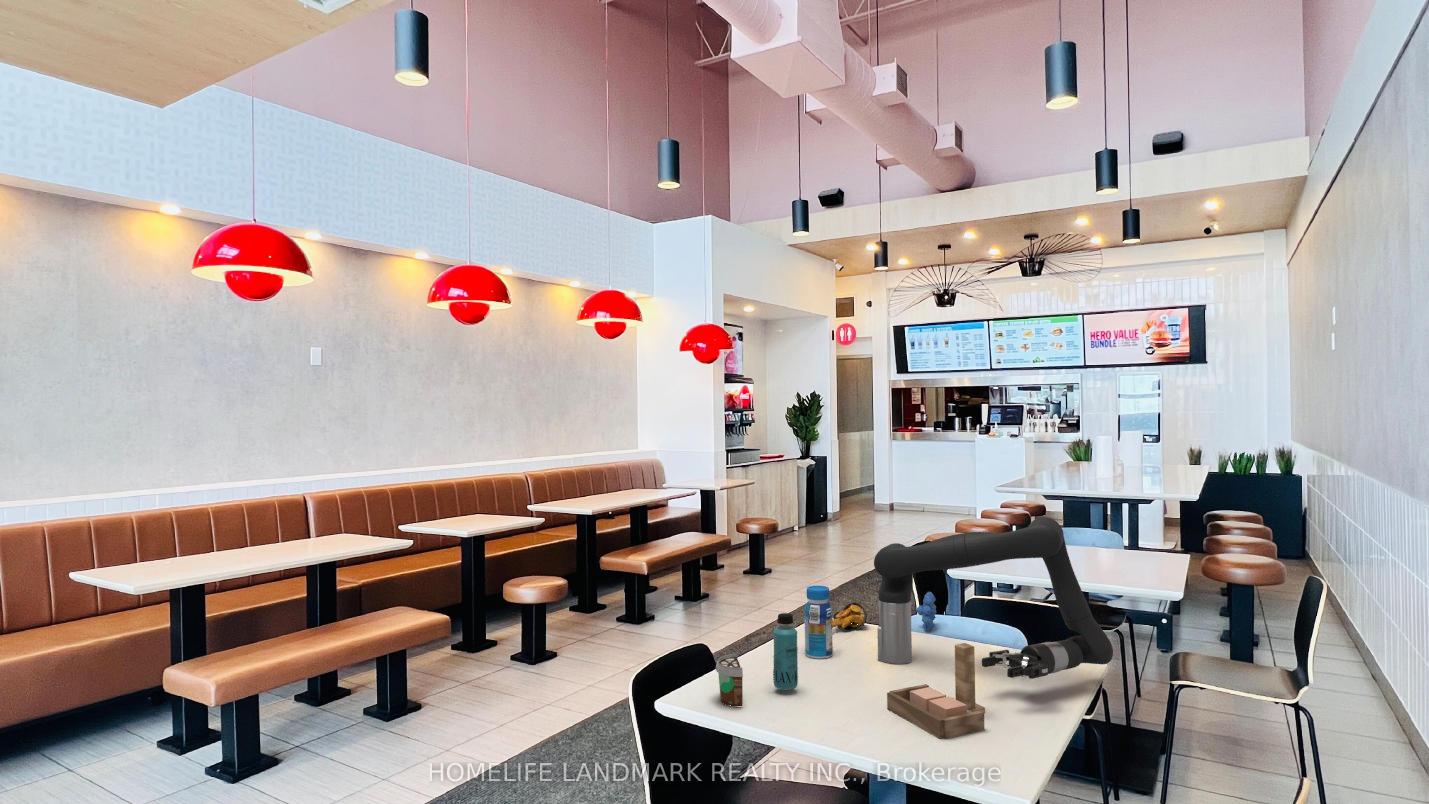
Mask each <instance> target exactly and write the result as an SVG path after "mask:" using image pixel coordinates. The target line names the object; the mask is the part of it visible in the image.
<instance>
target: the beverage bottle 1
mask: <svg viewBox="0 0 1429 804" xmlns="http://www.w3.org/2000/svg"><path fill="white" fill-rule="evenodd" d="M777 624H779V626H777V627H775V629H774V630H773V656H772V658H773V660H772V661H773V669H772V670H773V671H772V672H773V673H772V674H773V677H772V681H773V685H774V688H776V689H779V690H788V691H789V690H793V689H796V688H797V687H798V685H799V673H798V672H799V666H798V650H799V648H798V630H797V629H796V628H795V627H794V626H792V625H793V624H794V617H793V614H792V613H789V612H788V613H787V612H785V613H784V612H783V613H782V612H781V613H778V615H777Z"/></svg>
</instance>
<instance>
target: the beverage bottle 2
mask: <svg viewBox="0 0 1429 804" xmlns="http://www.w3.org/2000/svg"><path fill="white" fill-rule="evenodd" d="M806 587H807V588H806V598H807V599H806V600H808V601H807V603H805V607H804V613H805V615H804V617H803V623H804V646H805V647H804V648H805V649H804V653H805V656H806V657H808V658H812V659H817V660H818V659H819V660H822V659H829V658H831V657H832V656H833V652H834V650H833V628H832V623H833V620H834V619H833V616H832V613H833V609H832V606H831V604H830V602H829V601H828V600H829V599H830V587H828V586H825V585H818V584H817V585H809V586H806Z"/></svg>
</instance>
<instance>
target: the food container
mask: <svg viewBox="0 0 1429 804" xmlns="http://www.w3.org/2000/svg"><path fill="white" fill-rule="evenodd" d="M738 659H739V658H738V653H730V654H727V655H722V656H721V657H719V658H718V659H717V662H716V665H715V671H716V672H717V673H718V685H719V693H720V696H719V697H720V702H721V703H722V704H723V703H724V704H723V705H725V704H726V705H725V706H727V705H731V706H743V707H744V705H743V703H744V702H743V700H744V699H743V695H744V694H743V688H744V687H743V677H744V674H743V667H741V665H740V662H739V660H738ZM731 706H730V707H731Z"/></svg>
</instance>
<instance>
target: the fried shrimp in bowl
mask: <svg viewBox="0 0 1429 804" xmlns="http://www.w3.org/2000/svg"><path fill="white" fill-rule="evenodd" d="M832 615H833V616H832V618H833V623H832V629H833V628H835V627H836V628H838V629H839V630H841V631H843V632H848V633H849V632H852V631H857V630H859V629H861V628H862V627H864V626H865V624H866V622H867V617H868V616H867V612H866V609H865V607H864V606H863V604H860V603H859V602H856V601H855V602H854V601H853V602H852V601H851V602H849V603H847V604H846V605H845V606H844V607H843V609H842V610H841V611H836V612H834V614H832ZM851 623H852V624H851ZM857 624H858V625H857Z"/></svg>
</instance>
